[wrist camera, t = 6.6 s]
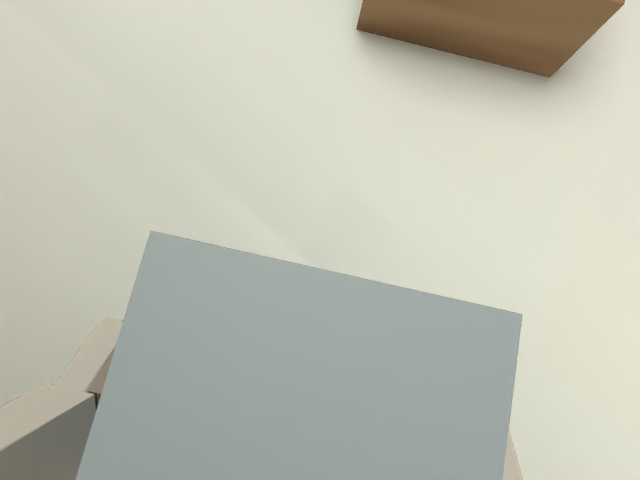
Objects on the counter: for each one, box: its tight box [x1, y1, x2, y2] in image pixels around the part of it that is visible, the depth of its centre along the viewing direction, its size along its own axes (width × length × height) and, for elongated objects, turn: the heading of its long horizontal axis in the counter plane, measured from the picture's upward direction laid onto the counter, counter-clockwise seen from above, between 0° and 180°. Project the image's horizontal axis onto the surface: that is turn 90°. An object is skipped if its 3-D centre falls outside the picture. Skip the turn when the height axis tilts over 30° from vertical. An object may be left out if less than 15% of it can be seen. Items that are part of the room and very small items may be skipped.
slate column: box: [76, 231, 522, 480], centre depth 10 cm, size 4×4×9 cm
